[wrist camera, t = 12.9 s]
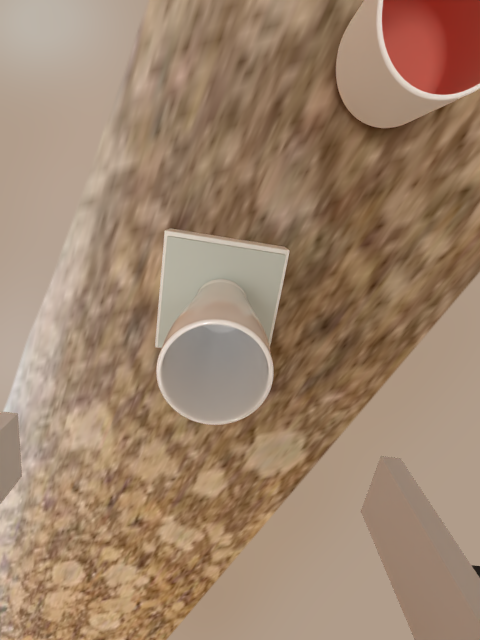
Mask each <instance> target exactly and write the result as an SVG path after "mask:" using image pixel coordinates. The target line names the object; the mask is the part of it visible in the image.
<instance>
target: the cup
mask: <svg viewBox="0 0 480 640" xmlns="http://www.w3.org/2000/svg"><path fill="white" fill-rule="evenodd" d="M336 80H337V86H338V90H339V93H340V96H341V98H342V101H343V103H344V104H345V106H346V108H347V109H348V110H349V111H350V113H351V114H352V115H353V116H354V117H355V118H357V119H358V120H360V121H361V122H363V123H365V124H367V125H370V126H373V127H377V128H392V127H397V126H401V125H404V124H406V123H409V122H411V121H413V120H415V119H417V118H419V117H421V116H424V115H426V114H428V113H430V112H432V111H434V110H436V109H439V108H441V107H443V106H445V105H447V104H449V103H451V102H454V101H456V100H458V99H460V98H462V97H464V96H466V95H468V94H471V93H473V92H475V91H476V90H478V89H480V0H364V1H363V3H362V4H361V6H360V7H359V9H358V11H357V12H356V14H355V15H354V17H353V18H352V20H351V21H350V23H349V25H348V26H347V28H346V30H345V32H344V34H343V37H342V39H341V42H340V45H339V49H338V54H337V60H336Z"/></svg>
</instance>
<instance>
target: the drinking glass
mask: <svg viewBox="0 0 480 640" xmlns="http://www.w3.org/2000/svg"><path fill="white" fill-rule="evenodd" d="M156 375H157V382H158V386H159V388H160V391H161V393H162V395H163V397H164V398H165V400H166V401H167V403H168V404H169V405H170V406H171V407H172V408H173V409H174V410H175V411H176V412H178V413H179V414H181V415H182V416H184V417H186V418H188V419H190V420H192V421H195V422H198V423H202V424H209V425H222V424H228V423H233V422H236V421H239V420H241V419H243V418H245V417H247V416H249V415H250V414H252V413H253V412H254V411H255V410H257V409H258V408H259V407H260V406H261V404H262V403H263V402H264V401H265V399H266V398H267V396H268V394H269V392H270V389H271V386H272V383H273V376H274V368H273V361H272V355H271V350H270V346H269V342H268V339H267V336H266V333H265V330H264V328H263V326H262V324H261V322H260V320H259V318H258V316H257V315H256V313H255V311H254V310H253V308H252V306H251V305H250V303H249V301H248V298H247V295H246V293H245V291H244V290H243V289H242V288H241V287H240V286H239V285H238V284H237V283H235V282H233V281H230V280H227V279H215V280H212V281H209V282H207V283H205V284H204V285H203V286H202V287H201V288H200V289H199V290H198V292H197V293H196V295H195V297H194V298H193V299H192V301H191V302H190V303H189V304H188V305H187V306H186V308H185V309H184V310H183V311H182V312H181V313H180V315H179V316H178V317H177V319H176V320H175V322H174V323H173V325H172V326H171V328H170V330H169V332H168V334H167V336H166V338H165V341H164V343H163V346H162V349H161V352H160V354H159V357H158V361H157V368H156Z"/></svg>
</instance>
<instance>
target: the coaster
mask: <svg viewBox="0 0 480 640" xmlns="http://www.w3.org/2000/svg"><path fill="white" fill-rule="evenodd" d="M289 252H290V250H288V249H287V248H286V247H283V246H277V245H271V244H265V243H259V242H252V241H246V240H240V239H234V238H227V237H221V236H215V235H209V234H203V233H196V232H190V231H184V230H178V229H172V228H170V229H168V230H165V234H164V246H163V258H162V270H161V282H160V294H159V305H158V317H157V329H156V341H155V347H159V348H162V346H163V343H164V341H165V338H166V336H167V334H168V332H169V330H170V328H171V326H172V325H173V323H174V322H175V320H176V319H177V317H178V316H179V315H180V313H181V312H182V311H183V310H184V309H185V308H186V306H187V305H188V304H189V303H190V302H191V301H192V299H193V298H194V297H195V295H196V293H197V292H198V290H199V289H200V288H201V287H202V286H203V285H204V284H205V283H207V282H209V281H212V280H215V279H227V280H230V281H233V282H235V283H237V284H238V285H239V286H240V287H241V288H242V289H243V290H244V291H245V293H246V295H247V298H248V301H249V303H250V305H251V306H252V308H253V310H254V311H255V313H256V315H257V316H258V318H259V320H260V322H261V324H262V326H263V328H264V330H265V333H266V336H267V339H268V342H269V346H270V344H271V340H272V335H273V330H274V325H275V320H276V315H277V310H278V305H279V300H280V296H281V291H282V286H283V281H284V276H285V271H286V266H287V261H288V256H289Z"/></svg>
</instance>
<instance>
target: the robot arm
mask: <svg viewBox="0 0 480 640" xmlns="http://www.w3.org/2000/svg"><path fill="white" fill-rule="evenodd" d="M21 477H22V470H21V455H20V440H19V425H18V413H9V412H0V504H1V502H2V501H3V500H4V499H5V497H6V496H7V495H8V493H9V492H10V491H11V490H12V488H13V487H14V486H15V484H16V483H17V482H18V480H19V479H20V478H21ZM361 513H362V515H363V518H364V520H365V523H366V525H367V527H368V530H369V532H370V534H371V537H372V539H373V542H374V544H375V546H376V549H377V551H378V554H379V556H380V558H381V561H382V563H383V565H384V568H385V570H386V572H387V575H388V577H389V580H390V581H391V585H392V587H393V589H394V592H395V594H396V596H397V599H398V601H399V604H400V606H401V608H402V611H403V613H404V615H405V618H406V620H407V622H408V625H409V627H410V630H411V632H412V635H413V637H414V639H415V640H480V566H472V565H471V564H470V563H469V561H468V560H467V558H466V557H465V555H464V553H463V552H462V551H461V549H460V548H459V546H458V544H457V543H456V541H455V540H454V538H453V537H452V535H451V534H450V532H449V531H448V529H447V528H446V526H445V525H444V524H443V522H442V520H441V519H440V518H439V516H438V514H437V513H436V511H435V510H434V508H433V507H432V505H431V504H430V502H429V501H428V499H427V498H426V496H425V495H424V493H423V492H422V490H421V489H420V487H419V486H418V484H417V483H416V481H415V480H414V478H413V477H412V475H411V474H410V472H409V471H408V469H407V467H406V466H405V464H404V463H403V461H402V460H401V459H400V458H393V457H384V456H381V457H380V460H379V463H378V465H377V468H376V471H375V474H374V476H373V479H372V482H371V485H370V487H369V490H368V493H367V496H366V498H365V501H364V504H363V507H362V509H361Z"/></svg>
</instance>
